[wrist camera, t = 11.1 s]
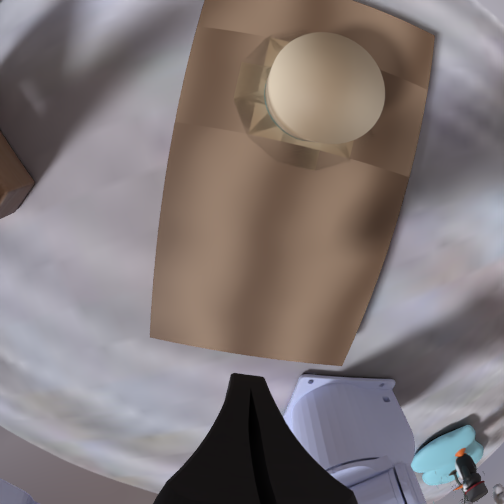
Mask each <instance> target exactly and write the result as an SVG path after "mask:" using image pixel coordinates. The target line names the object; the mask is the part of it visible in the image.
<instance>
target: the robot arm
mask: <svg viewBox="0 0 504 504" xmlns="http://www.w3.org/2000/svg"><path fill="white" fill-rule="evenodd" d="M311 379H312V380H311ZM309 380H311V381H309ZM394 386H395V381H394V380H393V379H371V378H350V377H335V376H321V375H310V374H304V375H302V376H300V378H299V380H298V382H297V385H296V387H295V390H294V392H293V395H292V397H291V399H290V402H289V404H288V406H287V409H286V411H285V413H284V416H283V417H282V415H281V413H280V411H279V409H278V407H277V406H276V404H275V402H274V399H273V397H272V395H271V393H270V391H269V388H268V386H267V383H266V381H265V379H264V377H260V376H252V375H244V374H237V373H233V374H231V377H230V381H229V385H228V389H227V393H226V398H225V401H224V404H223V406H222V409H221V411H220V413H219V415H218V417H217V419H216V420H215V422H214V424H213V426H212V428H211V429H210V431H209V432H208V434H207V436H206V437H205V439H204V440H203V441H202V443H201V444H200V446H199V447H198V448H197V450H196V451H195V452H194V453H193V455H192V456H191V457H190V458H189V459H188V460H187V462H186V463H185V464H184V465H183V466H182V467H181V468H180V469H179V470H178V471H177V472H176V473H175V474H174V475H173V476H172V477H171V478H170V479H169V480H168V481H167V482H166V484H165V485H164V487H163V488H162V490H161V491H160V493H159V494H158V496H157V497H156V499H155V501H154V503H153V504H427V503H426V501H425V498H424V496H423V493H422V491H421V488H420V486H419V483H418V481H417V478H416V476H415V473H414V471H413V469H412V467H411V463H412V461H413V458H414V452H415V442H414V436H413V433H412V430H411V428H410V426H409V424H408V422H407V419H406V417H405V415H404V413H403V411H402V409H401V407H400V405H399V403H398V401H397V399H396V397H395V395H394V393H393V391H392V389H393V387H394ZM0 504H40V503H37V502H35V501H34V500H33V498H32V497H31V496H30V495H29V494H28V493H27V492H25V491H24V490H22V489H20V488H18V487H16V486H14V485H12V484H11V483H9V482H7V481H5V480H3V479H1V478H0Z"/></svg>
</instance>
